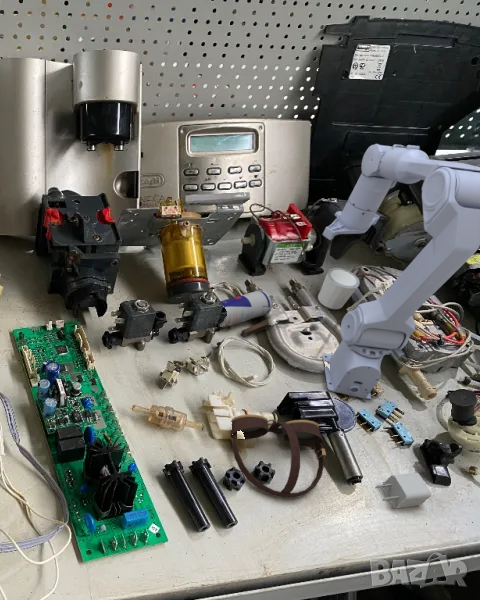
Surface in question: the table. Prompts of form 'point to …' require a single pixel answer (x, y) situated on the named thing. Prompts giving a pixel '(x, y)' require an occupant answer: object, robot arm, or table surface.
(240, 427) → the goggles
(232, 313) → the energy drink
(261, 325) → the cradle
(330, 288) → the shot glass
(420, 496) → the usb wall charger
